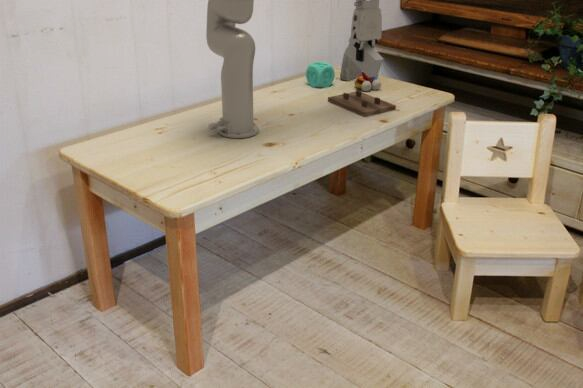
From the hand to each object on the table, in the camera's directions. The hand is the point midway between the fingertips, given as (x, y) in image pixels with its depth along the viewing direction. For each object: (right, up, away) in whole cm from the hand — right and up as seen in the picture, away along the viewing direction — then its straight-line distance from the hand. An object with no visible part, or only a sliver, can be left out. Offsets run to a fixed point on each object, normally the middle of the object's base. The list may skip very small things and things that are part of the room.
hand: (364, 59), depth 214 cm
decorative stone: (-1, +1, +38) cm, 38 cm away
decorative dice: (-14, -4, +29) cm, 33 cm away
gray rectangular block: (-1, -1, +2) cm, 3 cm away
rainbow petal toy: (+4, -6, +26) cm, 27 cm away
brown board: (0, -15, +7) cm, 16 cm away
